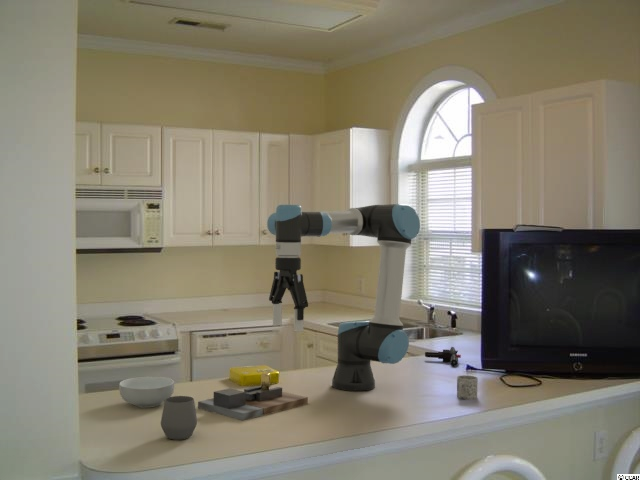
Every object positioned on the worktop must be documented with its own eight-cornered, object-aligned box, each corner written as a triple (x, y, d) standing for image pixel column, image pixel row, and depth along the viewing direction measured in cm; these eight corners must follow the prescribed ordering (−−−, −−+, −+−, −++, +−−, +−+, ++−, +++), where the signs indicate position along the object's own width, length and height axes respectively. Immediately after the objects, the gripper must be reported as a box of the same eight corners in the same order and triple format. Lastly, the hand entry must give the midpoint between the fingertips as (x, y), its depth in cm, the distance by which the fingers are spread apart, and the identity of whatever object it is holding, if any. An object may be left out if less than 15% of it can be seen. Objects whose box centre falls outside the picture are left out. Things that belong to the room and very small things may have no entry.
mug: (461, 393, 243) (462, 374, 243) (480, 396, 239) (480, 377, 239) (449, 399, 235) (449, 379, 235) (468, 402, 231) (468, 382, 231)
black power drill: (424, 355, 295) (461, 357, 292) (425, 343, 314) (460, 344, 311) (424, 367, 295) (461, 369, 293) (425, 354, 314) (459, 356, 312)
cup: (153, 439, 184) (153, 401, 184) (173, 430, 193) (173, 393, 193) (184, 444, 181) (185, 405, 181) (203, 434, 189) (204, 397, 189)
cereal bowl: (115, 400, 226) (115, 378, 225) (168, 396, 232) (168, 374, 232) (123, 413, 210) (123, 389, 210) (179, 408, 216) (179, 385, 216)
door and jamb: (263, 393, 239) (263, 387, 239) (307, 403, 226) (307, 397, 225) (197, 408, 217) (198, 401, 217) (242, 420, 204) (243, 413, 204)
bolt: (266, 394, 228) (266, 372, 228) (273, 395, 226) (273, 373, 226) (243, 399, 220) (244, 376, 220) (250, 400, 218) (250, 378, 218)
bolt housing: (266, 392, 230) (266, 380, 230) (282, 396, 226) (282, 383, 226) (213, 405, 213) (213, 391, 213) (229, 409, 209) (229, 395, 209)
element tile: (265, 376, 269) (265, 363, 269) (280, 384, 255) (280, 371, 255) (227, 379, 262) (227, 366, 262) (240, 387, 249) (241, 373, 249)
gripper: (258, 255, 220) (258, 323, 220) (297, 258, 198) (296, 334, 199) (280, 254, 223) (279, 322, 224) (320, 258, 202) (319, 332, 202)
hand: (287, 328), depth 211 cm, fingers open, 13 cm apart
